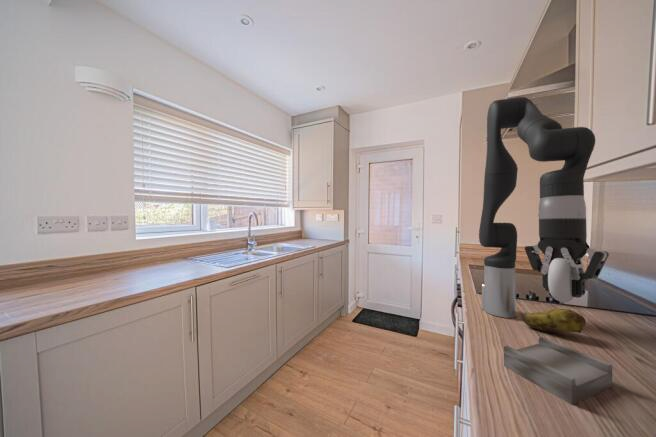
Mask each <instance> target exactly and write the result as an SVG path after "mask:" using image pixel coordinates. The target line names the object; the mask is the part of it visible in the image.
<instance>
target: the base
mask: <svg viewBox="0 0 656 437" xmlns="http://www.w3.org/2000/svg"><path fill="white" fill-rule="evenodd" d="M503 366H504V367H505V368H507V369H509V370H510V371H511V372H513V373H515V374H517V375H519V376H521V377H522V378H524V379H526V380H527V381H530V382H531V383H533V384H535V385H536V386H539V387H540V388H542V389H544V390H546V391H547V392H549V393H551V394H553V396H556V397H558V398H559V399H560V400H561V399H562V400H563V401H565V402H567V403H569V404H570V405H574V404H577V403H578V402H580V401H583V400H585V399H587V398H590V397H592V396H595V395H597V394H599V393H602V392H603V391H605V390H607V389H610V388H612V387H613V364H612V363H609V362H607V361H604V360H602V359H600V358H596V357H594V356H592V355H589V354H587V353H584V352H581V351H579V350H576V349H574V348H571V347H568V346H566V345H564V344H562V343H558V342H556V341H553V340H551V339H549V338H547V337H543V336H539V337H538V343H536V344H532V345H529V346H524V347H522V348H517V349H515V348H513V347H511V346H509V345H504V346H503Z"/></svg>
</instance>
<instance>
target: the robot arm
mask: <svg viewBox="0 0 656 437" xmlns="http://www.w3.org/2000/svg"><path fill="white" fill-rule="evenodd" d="M513 128H516V132H517V135H518V137H519V139H520V140H521V141H522V142H524V143H525V144H526V145H527V148H528V153H529V157H530V158H531V159H532V160H534V161H536V162H541V163H546V162H560V161H561V162H562V161H564V164H563V166H562V168H561V169H555V170H551V171H548V172H545V173H543V174H541V176H540V178H539V202H538V203H539V204H538V214H537V215H538V236H539V241H538V243H537V244H534V245H526V246H525V247H524V251H525V254H526V256H527V258H528V261H529V264H530V267H531V269H532V270H533V271H537V272H539V273H540V274H541V276H542V287H543V289H545V292H549V293H550V291H549V286H548V271H549V266H550V263H551V262H552V260H554V259H555V258H563V259H565V261H566V262H567V263H568V264H569V266H570V268H571V275H572V277H573V280H572V297H574V298H575V299H576V298H577V299H579V298H582V296H584V295H585V294H586V280H591V279H592V280H593V279H598V277H599V276H600V274H601V272H602V270H603V268H604V266H605V264H606V261H607V259H609V258H608V257H609V256H610V253H609V252H608V251H606V250H602V251H600V250H598V249H594V248H592V247H591V248H590V244H588V242H587V237H588V235H587V206H586V205H587V204H586V200H585V190H584V189H585V185H584V183H585V180H584V178H585V173H586V170H587V168H588V165H589V161H590V158H591V156H592V154H593V152H594V149H595V145H596V135H595V133H594V132H593V130H591V129H590V128H588V127H585V126H575V127H567V128H566V127H565V128H563V126H562V124H561V123H559V122H558V121H557V120H555V119H554V118H553V119H552V118H550V117H548V116H547V115H545V114H543V113H542V111H541V110H540V109H539V108H538V107H537V106H536V104H534V102H533V101H532V100H531V99H530V98H528V97H526V96H518V97H511V98H504V99H497V100H493V101H492V102H491V103H490V105H489V107H488V111H487V117H486V135H487V136H486V159H485V167H484V168H485V169H484V178H483V179H484V180H483V200H482V201H483V202H482V210H481V217H480V223H479V230H478V239H479V240H478V241H479V244H480V245H481V246H482V247H483V248H497V249H498V248H499V249H500V250H499V251H498V252H497V253H495V254H491V255H489V256H486V257H484V259H483V265H484V266H483V271H484V272H483V275H484V276H483V277H484V278H483V279H484V283H482V284H481V309H482V310H483V311H484V312H485V313H487V314H489V315H492V316H494V317H495V316H496V317H498V318H499V317H500V318H505V319H507V318H509V319H512V318H516V315H517V314H516V312H517V310H516V302H517V301H516V261H517V247H518V246H517V245H518V231H517V227H516V225H514V224H513V223H512V222H495V217H496V214H497V212H498V211H499V210H500V207H501V206H503V204H504V203H505V202H506V201H507V200H508V198H509V197H510V196H511V195H512V194H513V192H514V191H515V189H516V187H517V179H518V170H519V169H518V165H517V163H516V161H515V159H514V158H513V156H512V155H511V153H509V151H508V149H507V148H506V146H505V144H504V141H503V138H502V130H503V129H513ZM540 252H541V253H542V254H543V255H544V256H543V259H541V257H540ZM587 254H588V255H587ZM585 255H587V256H588V259H589V260H590V261H589V262H588V265H587V267H586V269H585V270H584V267H585V266H584V264H583V261H582V258H583V257H584V256H585Z"/></svg>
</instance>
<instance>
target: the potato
mask: <svg viewBox="0 0 656 437" xmlns="http://www.w3.org/2000/svg"><path fill="white" fill-rule="evenodd" d="M523 319H524V320H523V322H524V323H525V324H526V326H528V327H530V328H532V329H536V330H540V331H545V332H549V333H556V334H557V333H559V334H561V333H562V334H563V333H577V334H581V333H582V331H583V329H584V326H585V325H586V323H587V321H586V319H585V318H584V316H582V315H581V314H580V313H578V312H577V311H574V310H572V309H570V308H554V309H551V310H546V311H544V312H531V313H527V314H525V315H524V318H523Z"/></svg>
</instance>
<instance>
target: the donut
mask: <svg viewBox="0 0 656 437" xmlns="http://www.w3.org/2000/svg"><path fill="white" fill-rule="evenodd" d="M572 280H573V277H572V275H571V268H570V266H569V264H568V263H567V262H566V261H565V259H563V258H555V259H554V260H552V262H551V263H550V266H549V271H548V286H549V291H550V292H549V291H548V292H549V293H550V295H551V297H553V299H554V300H556V301H557V302H560V303H568V302H571V301H572V300H574V298H575V297H572Z"/></svg>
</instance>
